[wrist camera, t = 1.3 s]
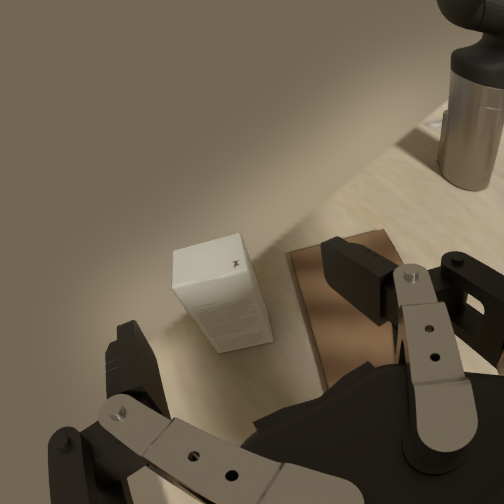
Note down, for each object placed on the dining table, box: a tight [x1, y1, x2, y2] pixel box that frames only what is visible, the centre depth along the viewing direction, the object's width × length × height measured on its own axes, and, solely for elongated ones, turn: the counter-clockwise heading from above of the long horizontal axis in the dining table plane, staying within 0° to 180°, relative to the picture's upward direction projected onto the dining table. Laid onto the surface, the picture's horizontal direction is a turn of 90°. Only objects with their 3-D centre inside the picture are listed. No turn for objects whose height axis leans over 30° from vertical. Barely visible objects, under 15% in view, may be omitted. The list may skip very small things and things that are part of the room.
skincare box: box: [171, 233, 274, 353], centre depth 28 cm, size 6×4×12 cm
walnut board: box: [290, 229, 404, 389], centre depth 31 cm, size 18×12×1 cm, turn 9°
